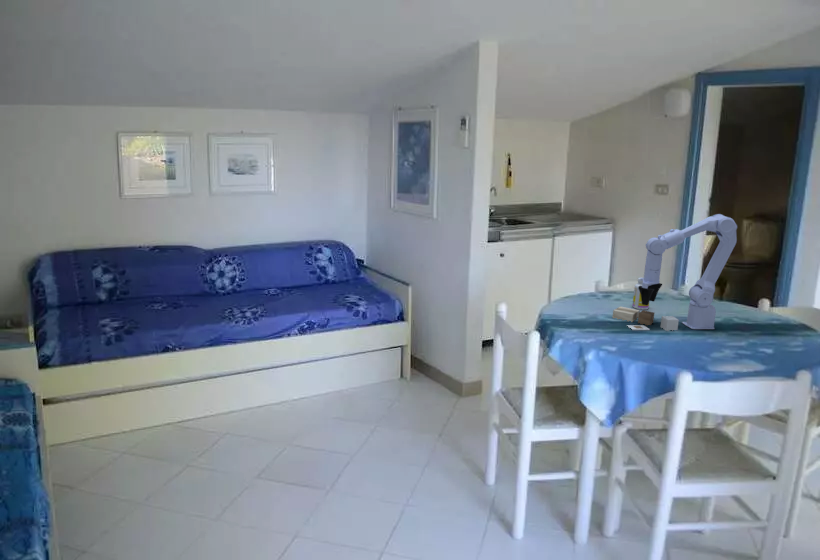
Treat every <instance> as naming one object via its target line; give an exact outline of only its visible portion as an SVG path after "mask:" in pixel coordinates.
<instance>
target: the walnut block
mask: <svg viewBox="0 0 820 560" xmlns="http://www.w3.org/2000/svg"><path fill="white" fill-rule="evenodd" d="M654 321H655V311H654V312H653V311H648V310H640V312H639V318H638V319H637V324H639V323H640V324H639V325H643V324H645V325H644V326H648V325H650V326H651V325H653V324H654ZM652 323H653V324H652Z"/></svg>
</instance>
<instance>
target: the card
mask: <svg viewBox="0 0 820 560" xmlns="http://www.w3.org/2000/svg"><path fill="white" fill-rule="evenodd" d="M627 326H628V327H627ZM626 327H627V328H629V329H630V328H631V329H632V331H650V328H648V327H647V325H643V324H639V325H638V324H635V325H634V324H630V325H626ZM631 329H630V330H631Z"/></svg>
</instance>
